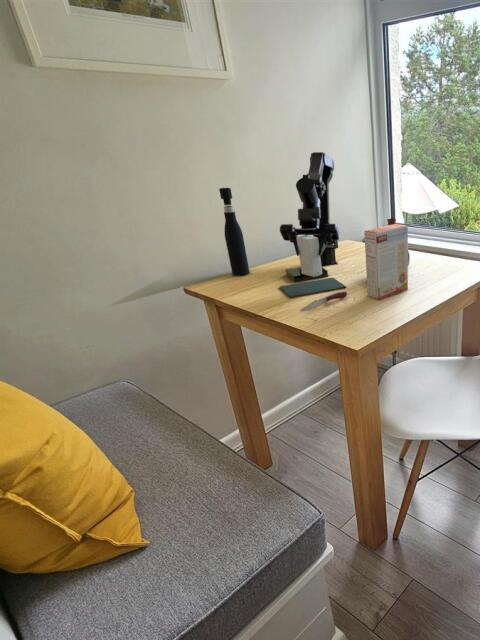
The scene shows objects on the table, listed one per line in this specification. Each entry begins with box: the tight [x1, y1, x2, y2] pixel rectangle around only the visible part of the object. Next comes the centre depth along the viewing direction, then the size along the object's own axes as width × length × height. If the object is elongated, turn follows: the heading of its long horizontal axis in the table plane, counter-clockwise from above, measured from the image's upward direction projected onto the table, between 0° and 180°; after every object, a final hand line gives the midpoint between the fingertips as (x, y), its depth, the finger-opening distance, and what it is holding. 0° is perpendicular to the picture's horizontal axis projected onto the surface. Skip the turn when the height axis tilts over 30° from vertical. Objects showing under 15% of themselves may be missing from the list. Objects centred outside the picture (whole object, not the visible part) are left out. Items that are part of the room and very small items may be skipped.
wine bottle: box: [218, 187, 250, 277], centre depth 155 cm, size 6×6×30 cm
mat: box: [279, 277, 347, 299], centre depth 147 cm, size 20×12×1 cm, turn 118°
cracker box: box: [364, 223, 409, 300], centre depth 136 cm, size 14×6×21 cm, turn 135°
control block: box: [285, 265, 329, 283], centre depth 158 cm, size 13×11×4 cm
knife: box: [299, 290, 348, 312], centre depth 131 cm, size 20×1×3 cm, turn 142°
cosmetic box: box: [297, 235, 323, 277], centre depth 139 cm, size 6×4×12 cm
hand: (308, 255), depth 137 cm, fingers closed on cosmetic box, 7 cm apart
